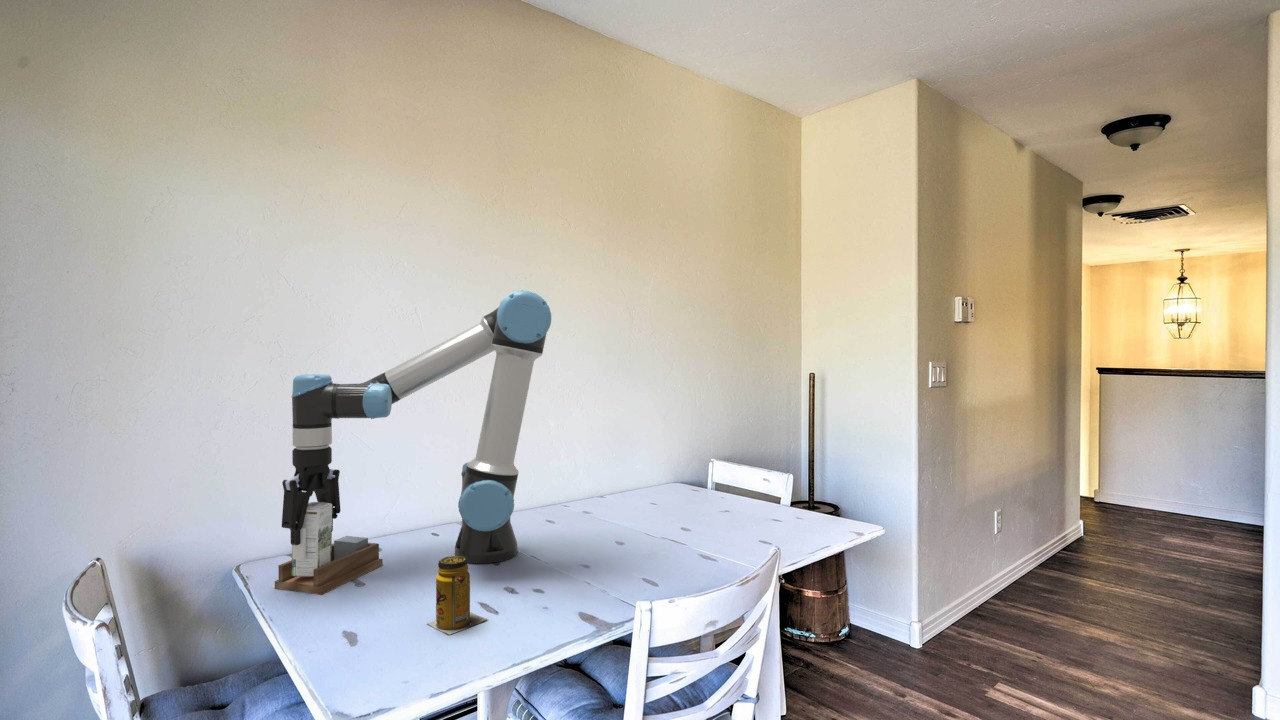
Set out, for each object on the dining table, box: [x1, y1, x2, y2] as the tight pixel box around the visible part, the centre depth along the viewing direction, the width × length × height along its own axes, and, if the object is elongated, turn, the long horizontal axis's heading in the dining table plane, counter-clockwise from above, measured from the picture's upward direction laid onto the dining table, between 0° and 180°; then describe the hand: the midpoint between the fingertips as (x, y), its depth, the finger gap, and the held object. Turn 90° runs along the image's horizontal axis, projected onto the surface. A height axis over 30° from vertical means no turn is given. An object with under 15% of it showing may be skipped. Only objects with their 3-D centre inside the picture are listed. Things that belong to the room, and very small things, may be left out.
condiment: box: [426, 555, 488, 636], centre depth 120 cm, size 7×8×12 cm
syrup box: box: [291, 501, 333, 576], centre depth 139 cm, size 6×6×14 cm
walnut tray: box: [274, 542, 383, 596], centre depth 144 cm, size 12×19×5 cm, turn 164°
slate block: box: [333, 535, 369, 561], centre depth 150 cm, size 6×4×5 cm, turn 74°
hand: (312, 553), depth 139 cm, fingers closed on syrup box, 7 cm apart
